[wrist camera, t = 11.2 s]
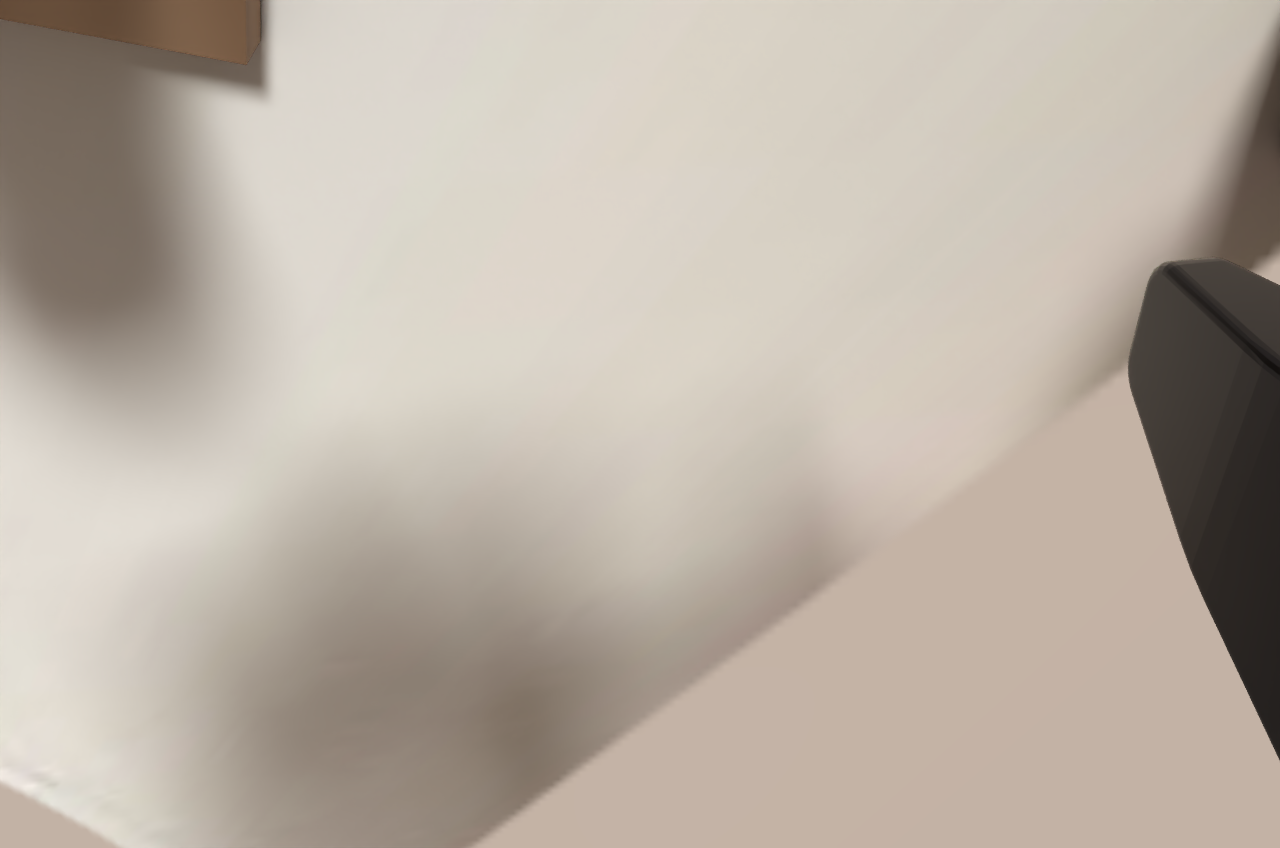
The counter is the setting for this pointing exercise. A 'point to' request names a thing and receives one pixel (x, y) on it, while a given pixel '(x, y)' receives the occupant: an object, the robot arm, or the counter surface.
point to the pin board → (152, 23)
